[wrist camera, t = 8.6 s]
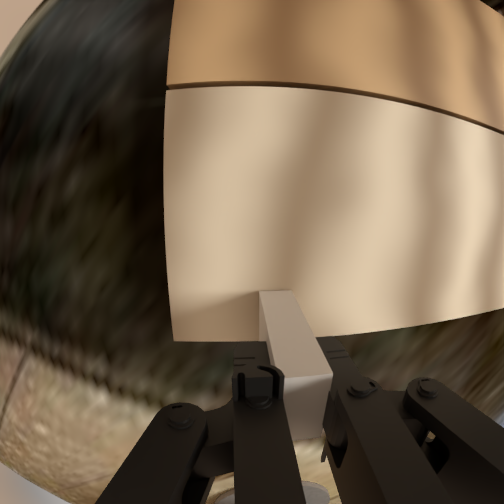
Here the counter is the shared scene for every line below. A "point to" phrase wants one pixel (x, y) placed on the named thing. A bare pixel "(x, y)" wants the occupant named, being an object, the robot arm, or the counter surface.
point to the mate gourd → (313, 492)
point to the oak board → (348, 50)
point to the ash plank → (327, 211)
